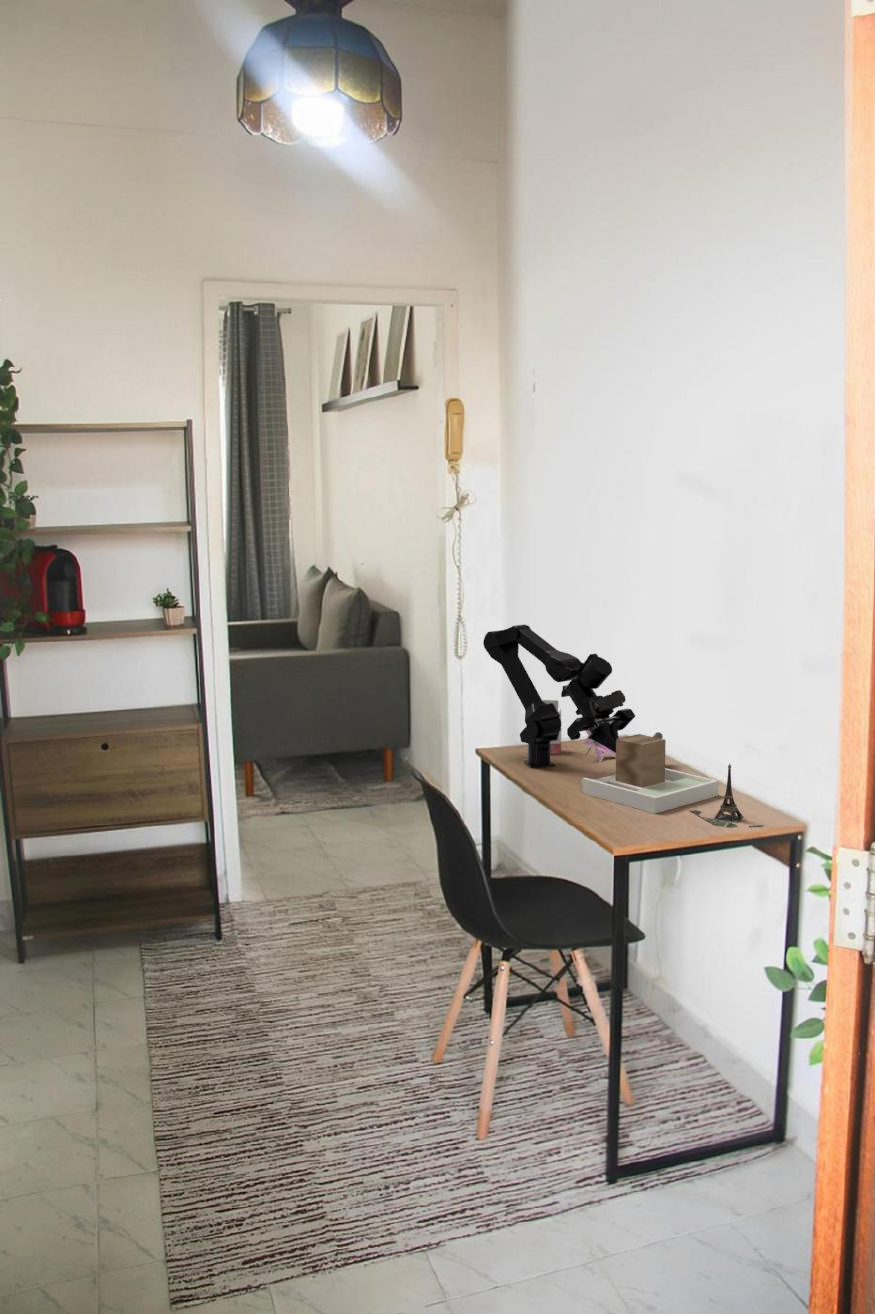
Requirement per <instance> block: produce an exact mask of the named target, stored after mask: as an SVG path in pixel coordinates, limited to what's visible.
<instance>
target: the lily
mask: <svg viewBox="0 0 875 1314" xmlns="http://www.w3.org/2000/svg"><path fill="white" fill-rule="evenodd" d="M585 733H586V734H587V737H586V738H585V739H584V741H583V742H582V745H583V746H584V747H587V748H588V749H587V752H586V754H585V756H587V755H588V754H589V752H590V751H591V749H594V750H595V753H596V756H597V759H598V761H599V762H602V761H603V759H604V756H605V754H607V755H610V756H611V757H614V758H615V759H616V753H615V752H613V751H612V750H610V749H608V748H607V747H605V746H603V745H602V744H600V743H598V742H596V741H594V740H592V739H589V738H588V737H589V736H590V735H591V733H590V730H586V731H585Z"/></svg>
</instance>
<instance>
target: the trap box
mask: <svg viewBox="0 0 875 1314" xmlns="http://www.w3.org/2000/svg"><path fill="white" fill-rule="evenodd" d="M719 786H720V780H717V779H712V778H709V777H704V776H699V775H695V774H692V773H687V772H683V771H679V770H675V769H672V768H671V769H670V768H666V767H665V782H662V783H658V784H654V785H650V786H646V787H642V788H641V787H637V786H633V785H630V784H626V783H622V782H618V781H616V773H615V774H611V775H608V776H604V777H603V776H602V777H599V778H596V779H592V778H588V777H582V778H581V790H582V791H581V793H582V794H585V795H588V796H592V797H595V798H599V799H602V800H606V801H609V802H613V803H616V804H620V805H623V806H626V807H630V808H634V809H637V810H641V811H645V812H647V813H651V814H654V815H656V814H659V813H663V812H665V811H670V810H672V809H676V808H681V807H683V806H688V805H691V804H694V803H698V802H702V801H704V800H708V799H713V798H716V797H718V795H719V793H720V792H719V791H720V790H719V789H720V787H719ZM715 796H716V797H715Z"/></svg>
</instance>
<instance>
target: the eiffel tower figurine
mask: <svg viewBox="0 0 875 1314" xmlns="http://www.w3.org/2000/svg"><path fill="white" fill-rule="evenodd" d="M727 770H728V771H727V782H726V790H725V794H724V798H723V802H722V804H721V805H720V807H719V808H720V809H719V810H718V812H717V813H716V815H715V816H714V817H713V818H710V817H703V816H701V815H700V814H702V812H703V811H700V810H696V809H695V810H692V809H691V810H690V812H691V813H692V814H694V815H696V816H697V817H699V818H700V819H702V820H704V821H706V822H708V823H709V824H711V825H712V826H715V827H719V828H721V827H722V828H729V829H733V828H738V826H739V825H737V824H739V822H740V821H741V820H742V819H743V818H744V816H743V815H742V813H741V812H740V810H739V809H738V807H737V804H736V802H735V800H734V794H733V789H732V774H731V773H732V765H731V763H729V764H728V766H727ZM728 802H729V803H728ZM726 813H728V814H726ZM748 827H749V828H751V829H752V828H757V827H764V825H763V824H760V825H748Z"/></svg>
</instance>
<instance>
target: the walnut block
mask: <svg viewBox="0 0 875 1314" xmlns="http://www.w3.org/2000/svg"><path fill="white" fill-rule="evenodd" d="M665 766H666V739H663V738H662V739H660V738H655V737H653V736H649V735H646V734H640V733H639V734H638V733H636V734H632V735H629V736H623V737H620V738H618V739H616V758H615V774H616V781H618V782H622V783H626V784H630V785H633V786H637V787H641V788H642V787H646V786H650V785H654V784H658V783H662V782H665V768H666V767H665Z"/></svg>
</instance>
